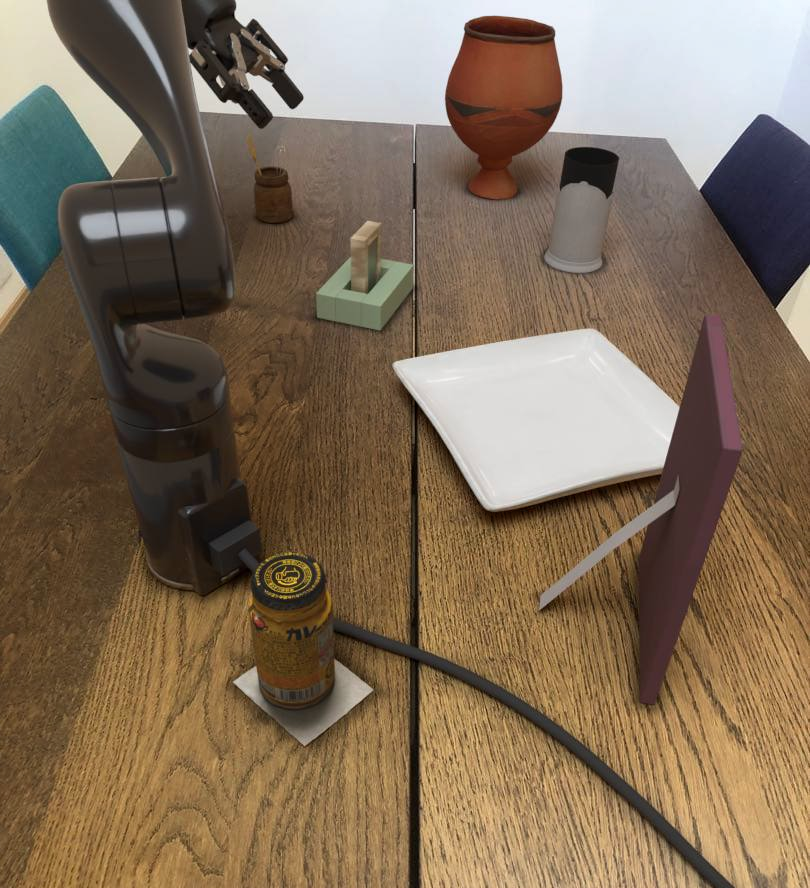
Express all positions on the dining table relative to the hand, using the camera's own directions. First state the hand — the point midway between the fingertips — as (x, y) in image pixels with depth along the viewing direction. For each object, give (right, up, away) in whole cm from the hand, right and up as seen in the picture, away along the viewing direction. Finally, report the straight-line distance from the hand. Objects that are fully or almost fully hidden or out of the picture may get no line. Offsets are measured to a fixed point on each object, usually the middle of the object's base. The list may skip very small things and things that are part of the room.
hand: (283, 113), depth 98 cm
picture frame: (+31, -58, -27) cm, 72 cm away
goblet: (+30, +10, +45) cm, 55 cm away
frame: (+9, -19, +13) cm, 25 cm away
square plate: (+30, -39, -7) cm, 50 cm away
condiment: (+7, -63, -34) cm, 72 cm away
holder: (+9, -19, +13) cm, 25 cm away
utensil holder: (-7, +1, +33) cm, 34 cm away
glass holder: (+41, -7, +27) cm, 50 cm away
